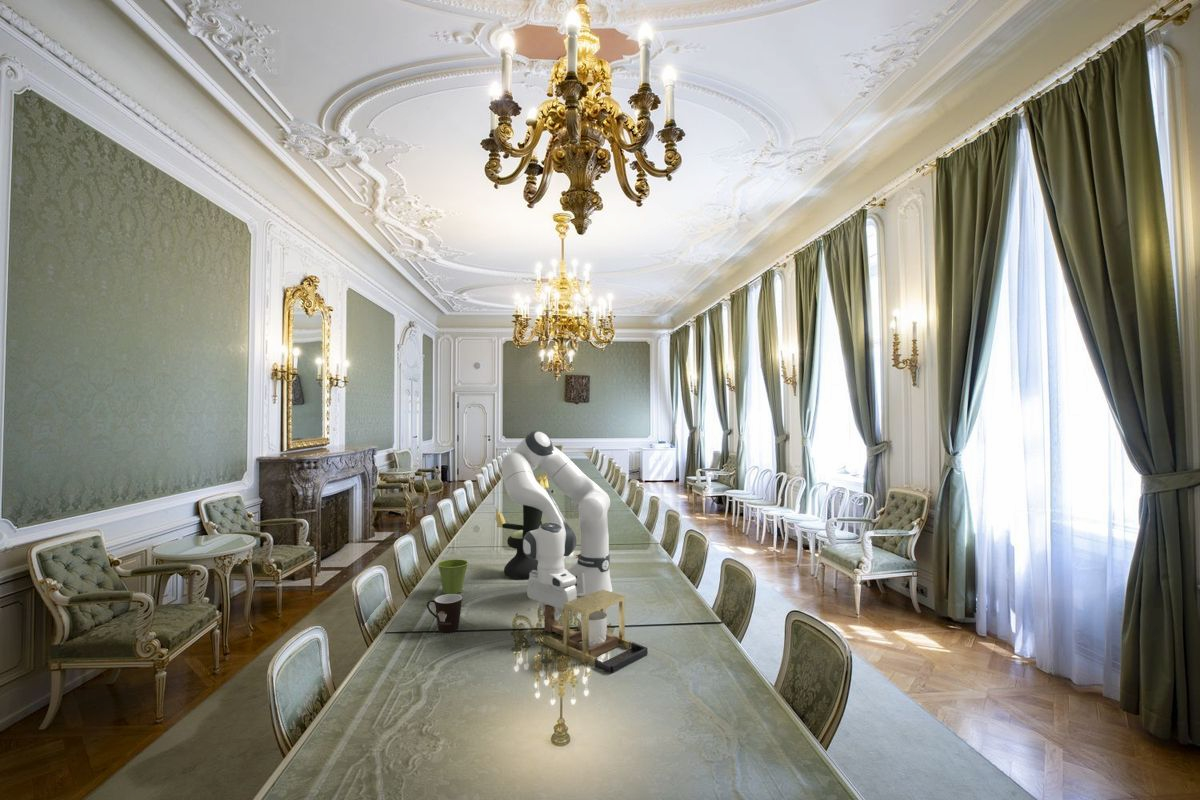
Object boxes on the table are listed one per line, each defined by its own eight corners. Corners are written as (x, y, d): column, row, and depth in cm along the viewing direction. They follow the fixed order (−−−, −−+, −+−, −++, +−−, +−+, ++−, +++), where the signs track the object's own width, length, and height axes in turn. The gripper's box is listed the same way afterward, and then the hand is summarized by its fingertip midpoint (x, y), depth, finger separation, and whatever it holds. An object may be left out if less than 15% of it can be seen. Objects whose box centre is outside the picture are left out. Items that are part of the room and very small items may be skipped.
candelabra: (529, 564, 254) (529, 466, 254) (560, 575, 238) (561, 470, 238) (493, 573, 240) (494, 469, 241) (525, 585, 225) (525, 473, 225)
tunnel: (542, 644, 170) (542, 595, 170) (581, 627, 182) (581, 582, 183) (610, 674, 151) (610, 620, 151) (649, 654, 163) (649, 603, 164)
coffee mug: (467, 629, 181) (467, 598, 181) (443, 637, 175) (443, 605, 175) (447, 619, 189) (447, 590, 189) (424, 627, 183) (424, 596, 183)
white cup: (587, 656, 162) (588, 622, 162) (576, 646, 169) (576, 613, 169) (611, 651, 165) (611, 617, 165) (599, 641, 172) (599, 608, 172)
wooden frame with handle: (533, 634, 176) (533, 608, 177) (561, 623, 185) (561, 599, 185) (590, 658, 159) (590, 630, 160) (618, 645, 168) (618, 619, 168)
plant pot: (473, 593, 215) (473, 564, 215) (442, 599, 209) (443, 569, 209) (462, 585, 225) (462, 557, 225) (432, 590, 218) (433, 561, 219)
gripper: (522, 570, 185) (522, 612, 185) (565, 583, 171) (565, 629, 171) (537, 566, 190) (537, 607, 189) (580, 579, 176) (580, 623, 176)
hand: (550, 617), depth 180 cm, fingers open, 3 cm apart
